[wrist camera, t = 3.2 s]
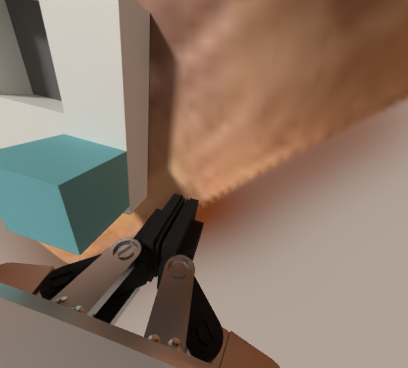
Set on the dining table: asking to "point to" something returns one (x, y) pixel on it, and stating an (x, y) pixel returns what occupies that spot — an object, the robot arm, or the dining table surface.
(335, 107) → the dining table surface
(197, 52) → the dining table surface
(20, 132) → the white board with holes
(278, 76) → the dining table surface
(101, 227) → the block
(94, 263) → the robot arm
